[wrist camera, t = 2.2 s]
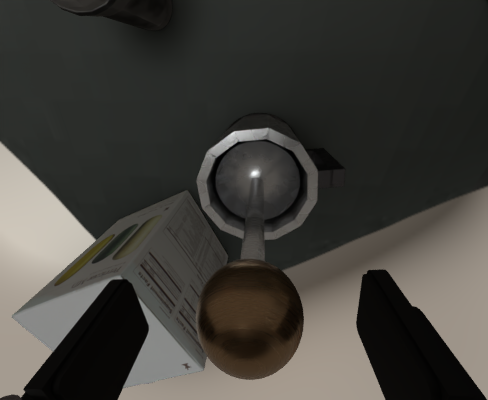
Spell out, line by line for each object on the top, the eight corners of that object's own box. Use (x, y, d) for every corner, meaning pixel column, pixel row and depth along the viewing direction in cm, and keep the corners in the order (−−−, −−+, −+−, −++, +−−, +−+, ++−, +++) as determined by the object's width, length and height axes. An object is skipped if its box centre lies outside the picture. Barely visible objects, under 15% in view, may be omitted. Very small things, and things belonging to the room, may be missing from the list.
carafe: (319, 106, 28) (356, 116, 17) (317, 187, 32) (345, 237, 21) (213, 117, 29) (184, 133, 18) (225, 194, 33) (207, 244, 22)
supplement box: (188, 187, 33) (120, 274, 17) (230, 255, 38) (206, 373, 22) (117, 219, 36) (5, 316, 21) (163, 278, 41) (101, 395, 25)
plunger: (298, 135, 20) (402, 267, 5) (298, 213, 23) (364, 436, 8) (211, 143, 21) (80, 276, 6) (223, 218, 24) (158, 427, 9)
